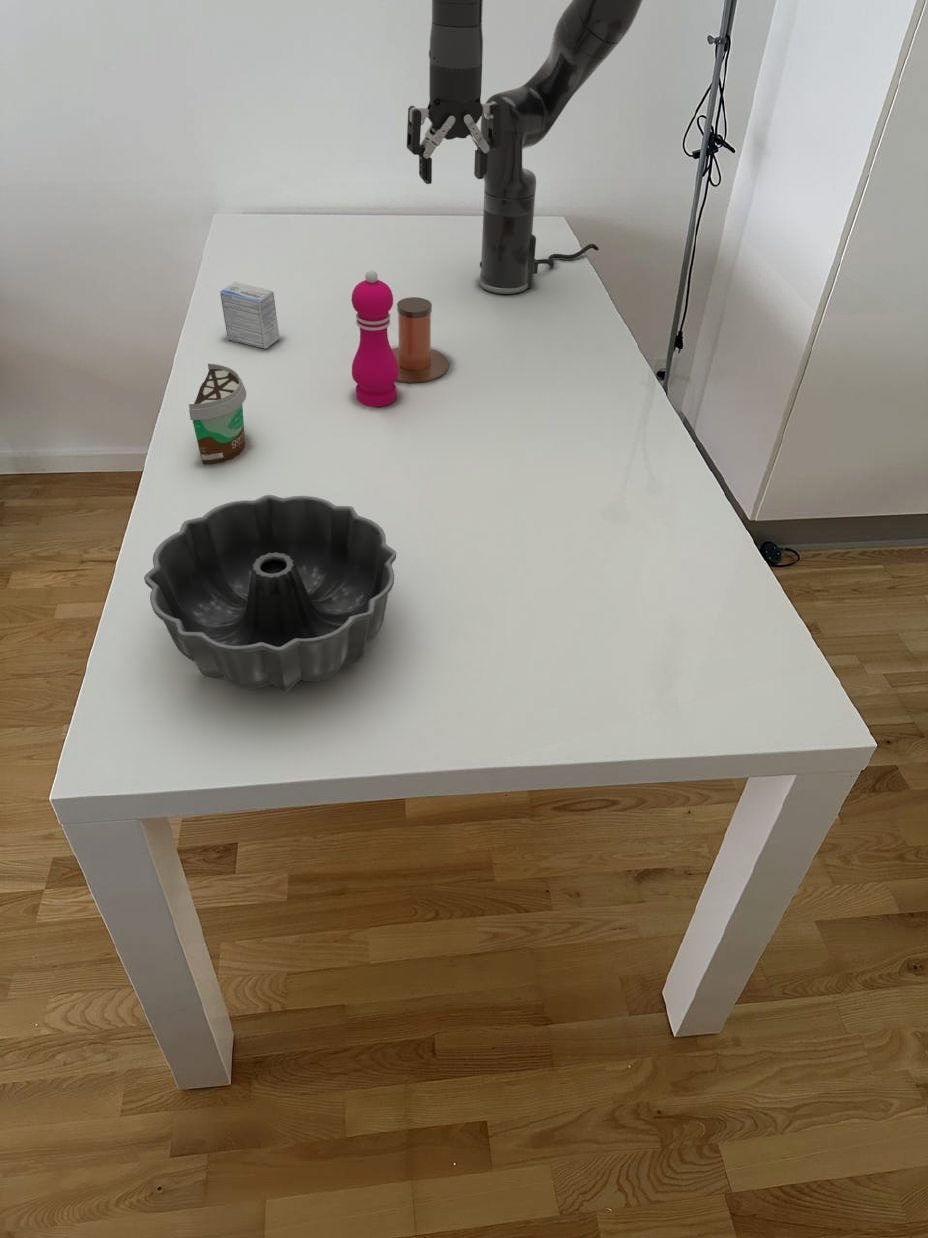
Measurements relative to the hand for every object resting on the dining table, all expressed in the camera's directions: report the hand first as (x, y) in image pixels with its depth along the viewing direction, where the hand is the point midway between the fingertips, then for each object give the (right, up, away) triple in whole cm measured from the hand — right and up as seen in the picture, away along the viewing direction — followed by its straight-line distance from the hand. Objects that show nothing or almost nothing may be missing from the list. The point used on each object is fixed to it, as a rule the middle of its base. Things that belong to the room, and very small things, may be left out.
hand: (453, 179), depth 142 cm
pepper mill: (-12, -33, +3) cm, 35 cm away
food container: (-32, -43, -9) cm, 54 cm away
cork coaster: (-7, -26, +11) cm, 29 cm away
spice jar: (-6, -25, +10) cm, 28 cm away
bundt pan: (-19, -69, -37) cm, 80 cm away
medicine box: (-34, -20, +15) cm, 43 cm away
